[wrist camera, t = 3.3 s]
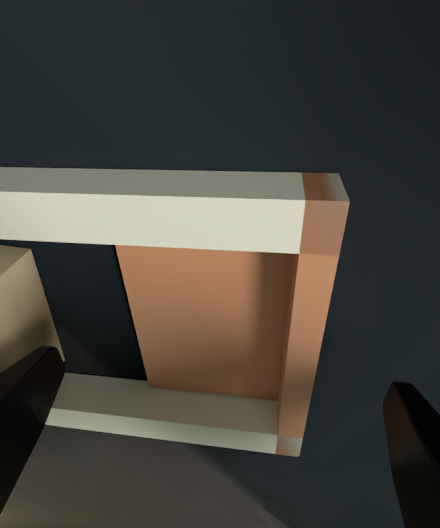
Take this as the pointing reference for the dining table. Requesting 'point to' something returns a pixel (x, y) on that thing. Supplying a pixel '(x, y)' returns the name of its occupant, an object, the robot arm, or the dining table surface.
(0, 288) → the maple block
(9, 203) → the channel
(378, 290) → the dining table surface
